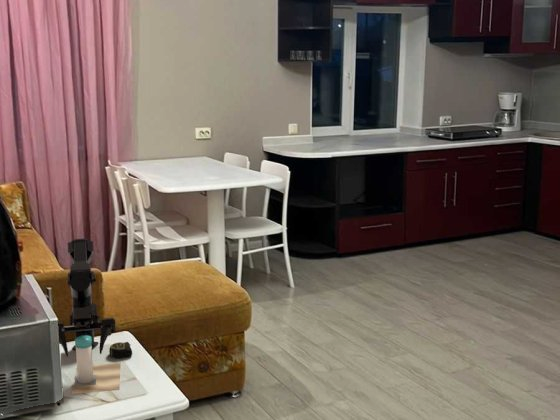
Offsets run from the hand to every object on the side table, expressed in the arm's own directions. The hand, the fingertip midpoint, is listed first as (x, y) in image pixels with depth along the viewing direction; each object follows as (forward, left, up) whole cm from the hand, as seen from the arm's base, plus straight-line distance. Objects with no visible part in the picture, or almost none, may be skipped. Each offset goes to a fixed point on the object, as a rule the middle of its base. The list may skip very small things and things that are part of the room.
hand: (84, 355), depth 198 cm
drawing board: (-2, +3, -8) cm, 9 cm away
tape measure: (-19, +3, -9) cm, 21 cm away
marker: (+1, 0, -7) cm, 7 cm away
